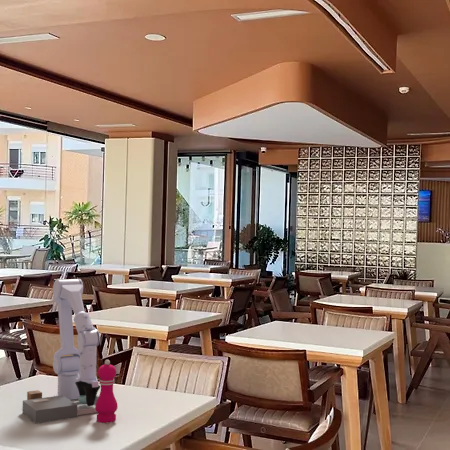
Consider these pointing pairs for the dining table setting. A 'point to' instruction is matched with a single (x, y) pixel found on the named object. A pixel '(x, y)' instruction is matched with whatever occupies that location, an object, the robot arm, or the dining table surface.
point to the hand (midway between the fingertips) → (87, 403)
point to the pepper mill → (106, 394)
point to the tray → (86, 407)
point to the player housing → (49, 409)
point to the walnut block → (34, 395)
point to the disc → (82, 399)
